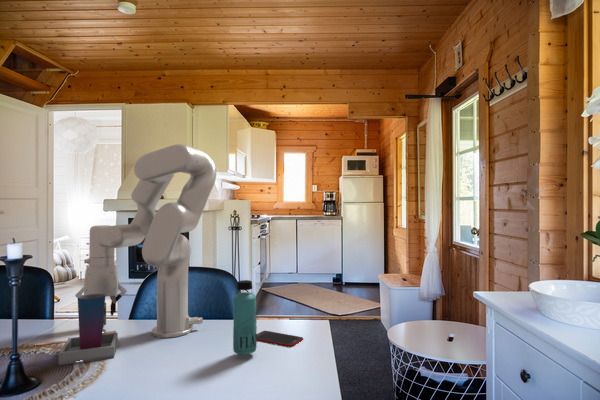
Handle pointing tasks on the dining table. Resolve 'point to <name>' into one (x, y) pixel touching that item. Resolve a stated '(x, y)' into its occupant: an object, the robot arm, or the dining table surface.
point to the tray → (88, 350)
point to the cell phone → (278, 338)
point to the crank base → (66, 340)
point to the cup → (91, 319)
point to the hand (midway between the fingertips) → (101, 315)
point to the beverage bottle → (244, 319)
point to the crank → (104, 320)
